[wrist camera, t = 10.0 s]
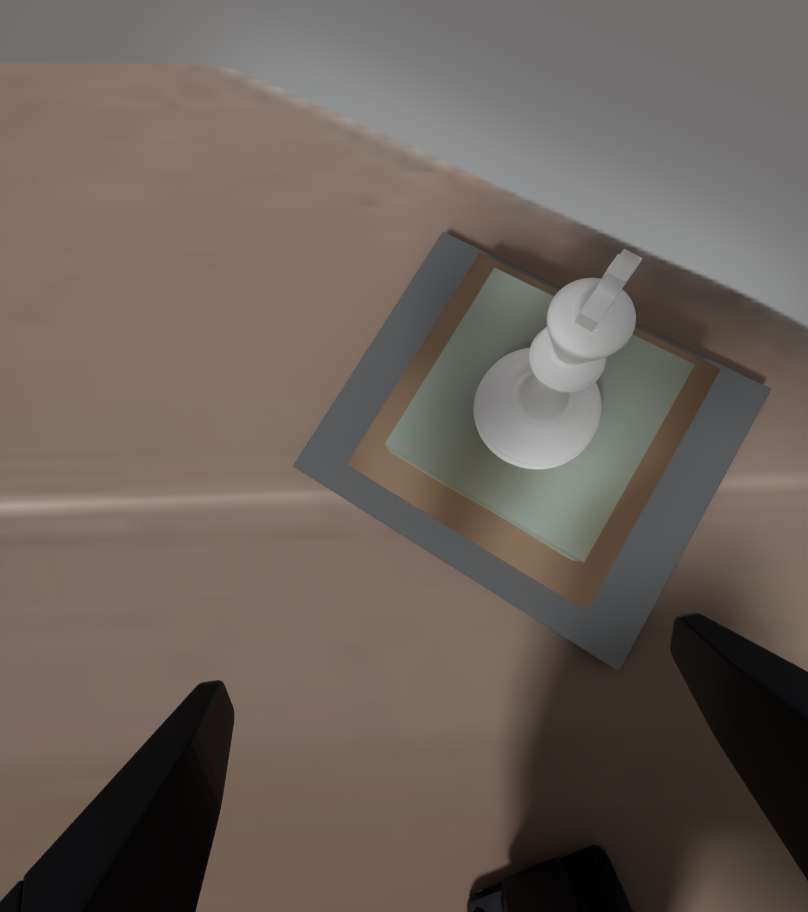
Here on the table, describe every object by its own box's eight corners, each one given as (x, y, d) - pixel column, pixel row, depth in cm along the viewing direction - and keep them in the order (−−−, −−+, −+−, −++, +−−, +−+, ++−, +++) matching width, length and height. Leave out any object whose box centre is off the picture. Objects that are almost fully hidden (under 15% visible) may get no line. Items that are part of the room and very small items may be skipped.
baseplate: (760, 394, 23) (771, 388, 22) (612, 666, 21) (618, 671, 20) (443, 241, 26) (443, 231, 25) (298, 468, 25) (293, 466, 24)
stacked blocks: (695, 385, 22) (749, 350, 18) (573, 603, 21) (601, 620, 17) (477, 277, 24) (481, 225, 20) (356, 470, 23) (335, 456, 19)
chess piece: (449, 425, 19) (442, 305, 9) (517, 330, 19) (579, 117, 10) (554, 494, 18) (671, 442, 8) (622, 392, 18) (812, 228, 9)
